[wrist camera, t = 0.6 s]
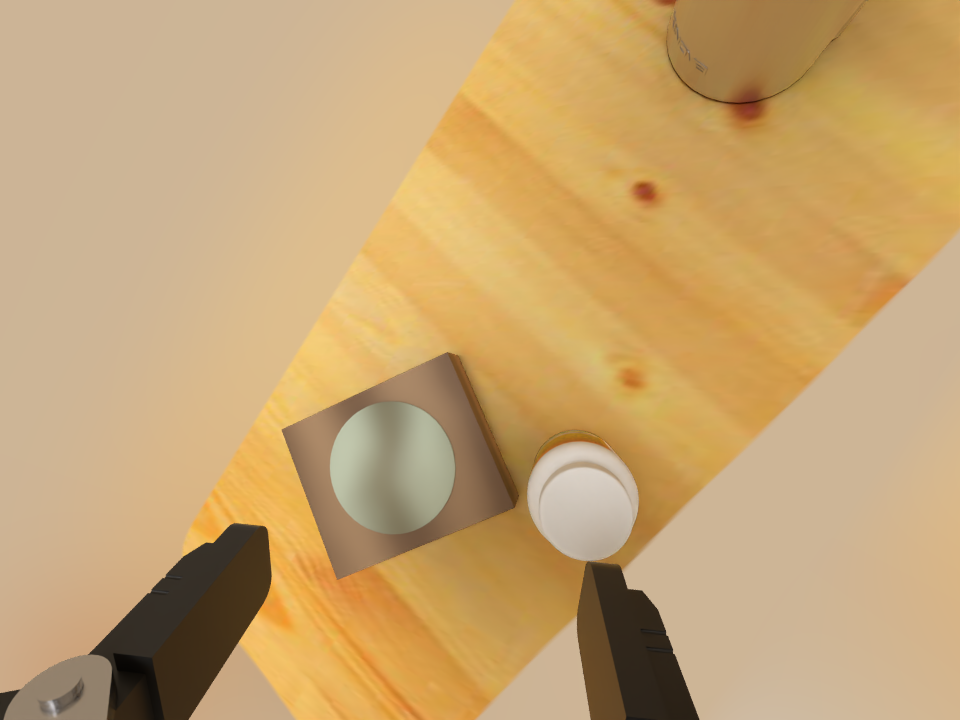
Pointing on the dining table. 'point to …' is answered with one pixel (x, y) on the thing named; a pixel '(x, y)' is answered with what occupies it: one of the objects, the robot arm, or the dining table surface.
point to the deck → (400, 465)
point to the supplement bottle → (582, 496)
